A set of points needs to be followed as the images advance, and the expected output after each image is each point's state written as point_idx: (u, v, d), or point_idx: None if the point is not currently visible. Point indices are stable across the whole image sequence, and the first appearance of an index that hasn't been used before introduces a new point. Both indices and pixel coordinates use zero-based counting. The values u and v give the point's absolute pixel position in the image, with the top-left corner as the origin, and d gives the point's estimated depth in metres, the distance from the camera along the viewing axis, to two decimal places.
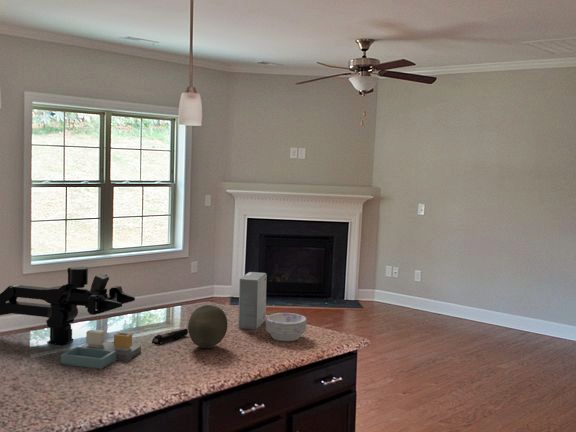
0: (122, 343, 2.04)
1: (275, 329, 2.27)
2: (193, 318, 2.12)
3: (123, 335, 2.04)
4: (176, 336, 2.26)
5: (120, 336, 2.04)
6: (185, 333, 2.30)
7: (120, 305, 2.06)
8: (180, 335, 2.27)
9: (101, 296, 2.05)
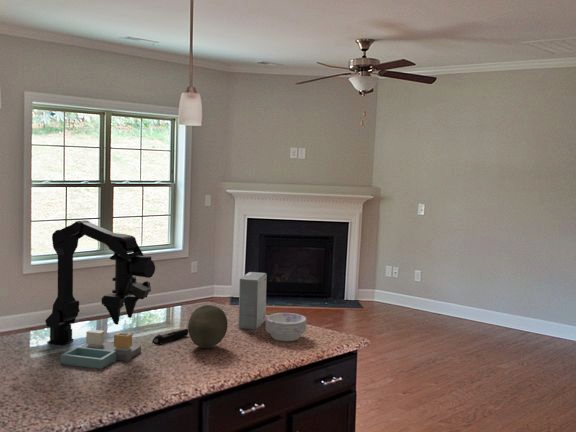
0: (122, 343, 2.04)
1: (275, 329, 2.27)
2: (193, 318, 2.12)
3: (123, 335, 2.04)
4: (177, 336, 2.26)
5: (120, 336, 2.04)
6: (185, 333, 2.30)
7: (115, 323, 2.00)
8: (180, 335, 2.27)
9: (121, 306, 1.98)
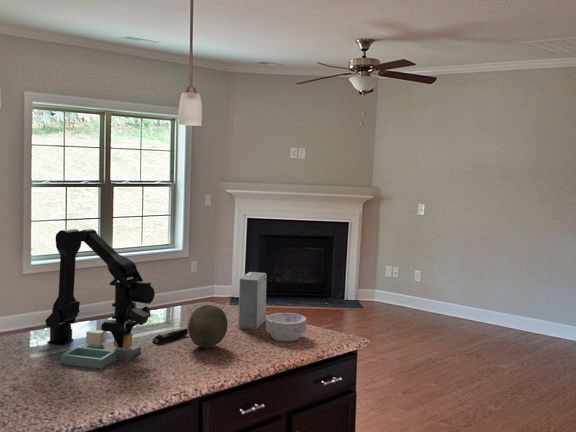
0: None
1: (275, 329, 2.27)
2: (193, 318, 2.12)
3: None
4: (177, 336, 2.26)
5: None
6: (185, 333, 2.30)
7: (119, 346, 2.04)
8: (180, 335, 2.27)
9: (125, 330, 2.01)
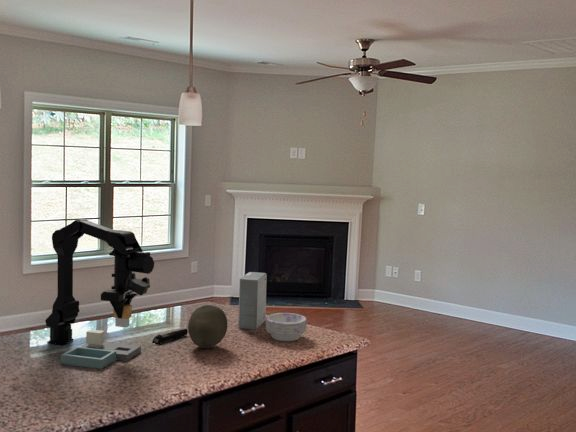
0: None
1: (275, 329, 2.27)
2: (193, 318, 2.12)
3: None
4: (176, 336, 2.26)
5: None
6: (185, 333, 2.30)
7: (119, 317, 2.03)
8: (180, 335, 2.28)
9: (125, 300, 2.00)
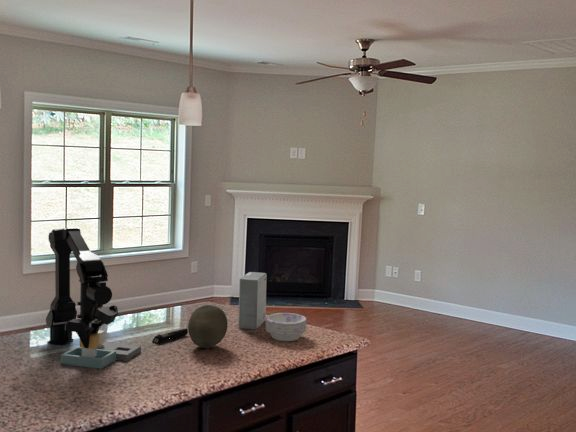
0: None
1: (275, 329, 2.27)
2: (193, 318, 2.12)
3: None
4: (176, 336, 2.26)
5: None
6: (185, 333, 2.30)
7: (85, 347, 1.96)
8: (180, 335, 2.28)
9: (91, 330, 1.93)
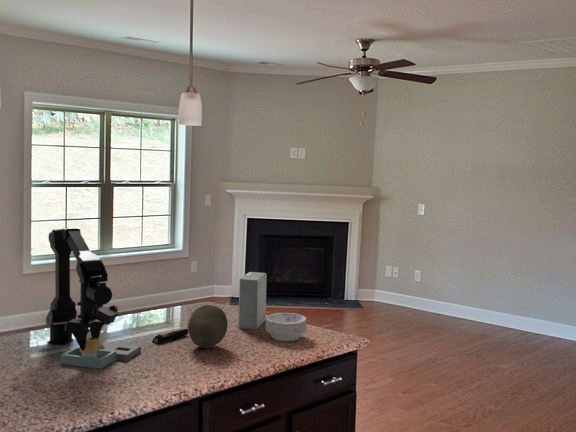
0: (88, 348, 1.96)
1: (275, 329, 2.27)
2: (193, 318, 2.12)
3: (89, 340, 1.96)
4: (177, 336, 2.26)
5: (86, 341, 1.96)
6: (185, 333, 2.30)
7: (82, 349, 1.94)
8: (180, 335, 2.28)
9: (88, 332, 1.91)
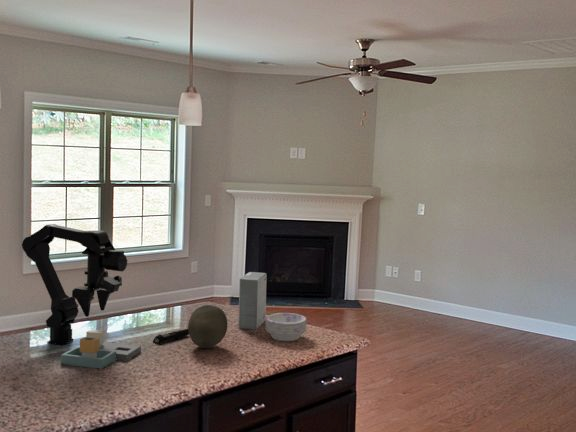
0: (88, 348, 1.96)
1: (275, 329, 2.27)
2: (193, 318, 2.12)
3: (89, 340, 1.96)
4: (178, 336, 2.26)
5: (86, 341, 1.96)
6: (187, 333, 2.30)
7: (86, 315, 2.07)
8: (181, 335, 2.27)
9: (91, 299, 2.05)
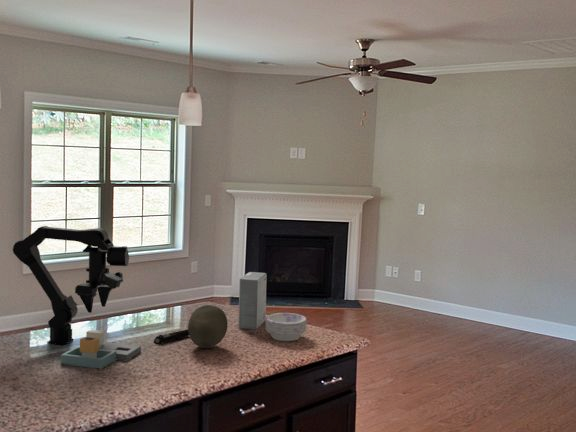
0: (88, 348, 1.96)
1: (275, 329, 2.27)
2: (193, 318, 2.12)
3: (89, 340, 1.96)
4: (179, 337, 2.25)
5: (86, 341, 1.96)
6: (188, 333, 2.29)
7: (89, 311, 2.12)
8: (182, 335, 2.27)
9: (94, 295, 2.09)
